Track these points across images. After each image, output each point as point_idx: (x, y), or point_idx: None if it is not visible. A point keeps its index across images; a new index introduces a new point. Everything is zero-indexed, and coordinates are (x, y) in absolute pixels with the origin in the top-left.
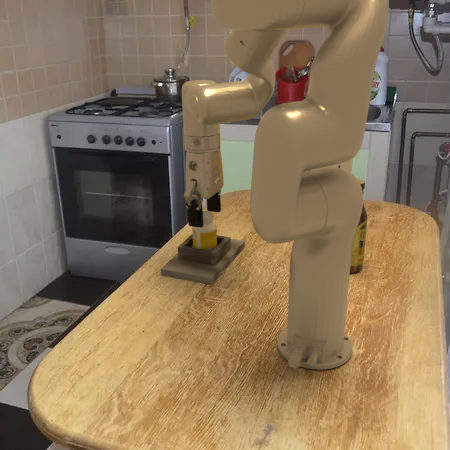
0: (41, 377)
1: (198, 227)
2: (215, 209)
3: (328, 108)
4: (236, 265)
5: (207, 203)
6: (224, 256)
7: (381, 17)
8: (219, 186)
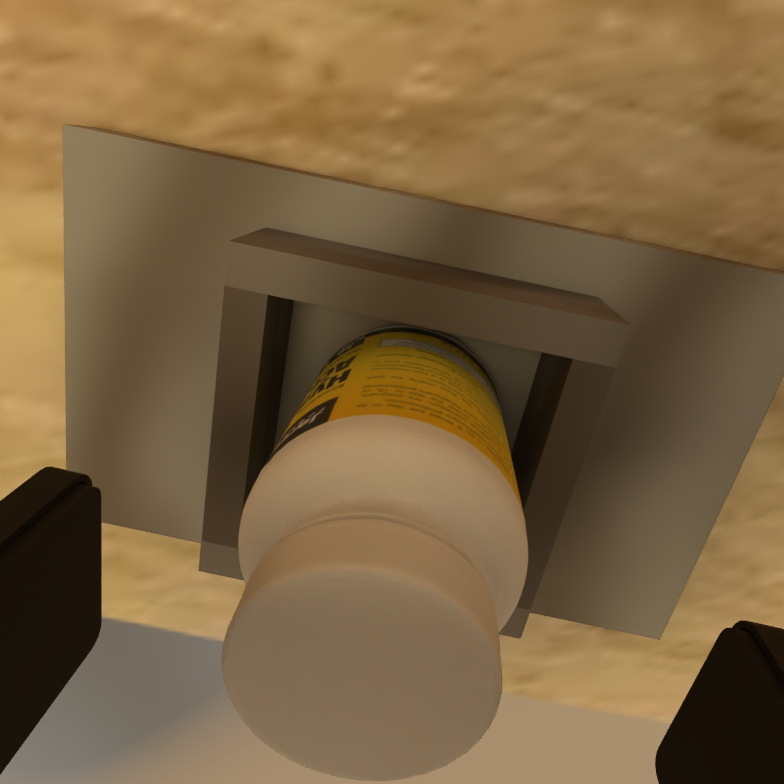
0: None
1: (503, 622)
2: (79, 555)
3: None
4: (453, 138)
5: (27, 732)
6: (416, 254)
7: None
8: None
